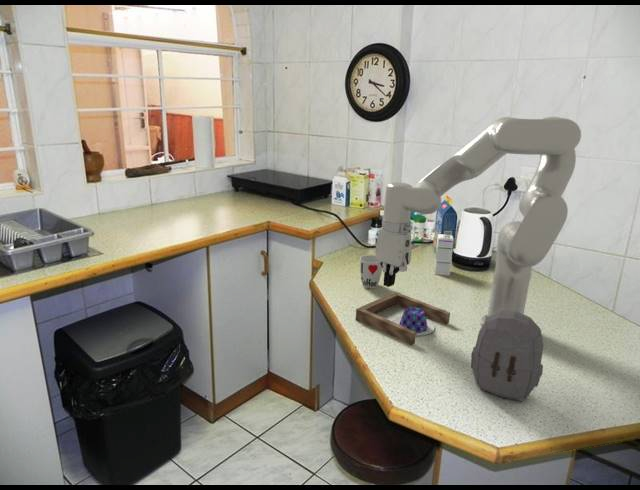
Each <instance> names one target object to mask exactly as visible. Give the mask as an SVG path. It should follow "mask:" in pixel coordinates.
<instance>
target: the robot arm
mask: <svg viewBox="0 0 640 490" xmlns="http://www.w3.org/2000/svg"><path fill="white" fill-rule="evenodd" d="M581 138H582V130H581V129H580V126H579V125H578V124H577V122H575V121H574V120H572V119H569V118H566V117H565V118H564V117H558V116H548V117H547V116H546V117H544V118H541V119H540V118H534V119H532V118H519V117H518V118H517V117H510V116H504V117H500V118H498V119H496V120H495V121H494V122H492V123H491V124H490V125H489V126H487V127H486V128H485V129H483V131H482V132H480V133H478V135H476V136H475V137H474V138H473V139H472V140H471V141H470V142H469V143H466V144H465V146H463V147H462V148H461V149H459V150H458V151H457V152H456V153H454V154H453V155H451V156H450V157H449V158H448V159H446V160H445V161H444V162H442V163H441V164H440V165H438V166H436V167H435V168H434V169H433V170H431V172H429V173H428V174H427V175H426V176H424V177H423V178H422V179H421V180H420V181H418V182H417V183H416V185H414V187H413V186H412V185H411V184H410V183H406V182H399V181H395V182H389V183H388V184H387V185H386V187H385V195H384V205H383V214H382V225H381V227H380V229H379V231H378V235H377V238H376V243H375V253H374V255H375V257H376V262H377V263H379V264H381V266H382V273H384V274H383V286H384V287H387V288H389V287H392V286H394V285H395V284H396V283H395V282H396V275H397V274H398V273H400V272H401V273H404V272H407V271H408V266H409V265H410V264H411V259H412V233H411V231H412V229H413V227H412V226H410V218H411V212H414V213H417V214H421V215H431V214H434V213H437V210H438V209H439V207H440V205H441V203H442V196H443V195H445V194H447V192H449V190H451V189H453V187H455V186H457V185H458V184H460V183H462V182H465V181H469V180H473V179H474V178H478V177H479V176H481V175H482V174H484V173H485V172H486V171H487V170H488V169H489V168H491V167H492V166H493V165H494V164H496V162H498V161H499V160H501V159H502V158H503V157H504V156H505V155H507V154H511V155H528V156H529V155H532V156H533V155H539V162H538V166H537V168H536V169H535V172H534V174H533V176H532V178H531V180H530V182H529V183H528V186H527V187H526V189H525V191H524V192H523V195H522V196H521V198H520V200H519V203H518V208H519V212H520V213H521V215H522V216H523V218H522V221H518V220H517V221H516V220H515V221H511V222H508V223H507V224H505V225H504V226H503V227H502V228H501V229H500V231H499V233H498V235H497V242H496V260H495V267H494V274H493V278H492V287H491V292H490V293H491V294H490V300H489V306H488V311H487V312H488V313H487V314H484V315H483V316H482V317H481V320H480V321H481V322H480V323H481V326H483V324H484V322H485V319H486V318H487V317H489V316H491V315H494V314H496V313H498V312H500V311H517V312H519V313H522V314H524V315H526V316H528V315H527V314H525V308H526V305H527V303H526V302H527V296H528V293H529V286H530V281H531V277H532V272H533V271H532V270H533V267H535V266H537V265H538V264H539V263H541V262H542V261H543V260H544V259H545V258H546V256H548V255H547V254H548V253H549V251H550V250H551V248H552V246H553V245H554V243H555V241H556V239H557V238H558V236H559V235H560V233H561V231H562V229H563V227H564V225H565V223H566V221H567V218H568V212H569V211H568V209H569V208H568V204H567V202H566V200H565V199H564V198H563V194H564V192H565V191H566V188H567V186H568V184H569V183H570V180H571V178H572V176H573V173H574V171H575V168H576V162H577V161H576V160H577V158H576V157H577V156H576V155H577V154H576V149H575V148H577V147H578V145H579V143H580V142H581Z"/></svg>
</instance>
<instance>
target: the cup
mask: <svg viewBox="0 0 640 490" xmlns="http://www.w3.org/2000/svg"><path fill="white" fill-rule="evenodd" d="M359 272H360V280H361V283H362V287H363V288H366V289H376V288H377V287H378V285H379V282H380V279H381V277H382V273H383V268H382V266H381V264H379V263H377V262H376V257H375V254H374V255H373V254H367V255H366V254H365V255H362V256H360V257H359Z"/></svg>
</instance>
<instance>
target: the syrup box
mask: <svg viewBox="0 0 640 490" xmlns="http://www.w3.org/2000/svg"><path fill="white" fill-rule="evenodd" d="M453 241H454V240H453V236H452V235H446V234H438V239H437V248H436V254H435V260H434V261H435V262H434V275H440V276H450V275H451V269H452V259H453V258H452V251H453V252H454V250H453Z"/></svg>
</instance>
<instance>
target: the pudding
mask: <svg viewBox="0 0 640 490" xmlns="http://www.w3.org/2000/svg"><path fill="white" fill-rule="evenodd" d="M392 322H394V323H397V324H399V325H401V326H404V327H406V328H408V329H411V330H413V331H415V332H416V336H425V335H428V334H431V333H433V332H434V330H435V325H434V323H433V322H431V321H430V320H429V319H428V318H427V317H426V314H425V312H424V311H423V310H422V309H420V308H416V307H413V308H411V307H410V308H407V309H405V308H404V311H403V313H402V315H401V316H398V317H396V318H394V319H393V320H392Z"/></svg>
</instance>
